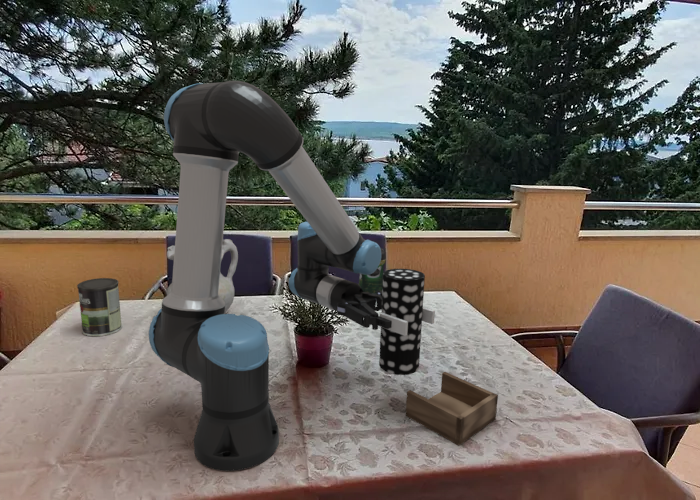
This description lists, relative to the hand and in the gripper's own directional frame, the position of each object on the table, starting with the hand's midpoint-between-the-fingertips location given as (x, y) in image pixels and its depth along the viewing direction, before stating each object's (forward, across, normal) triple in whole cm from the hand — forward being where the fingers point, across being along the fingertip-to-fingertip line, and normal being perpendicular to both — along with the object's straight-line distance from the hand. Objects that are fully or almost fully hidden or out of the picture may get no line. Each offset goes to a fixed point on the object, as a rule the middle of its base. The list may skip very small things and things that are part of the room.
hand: (420, 322), depth 94 cm
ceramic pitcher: (-76, +6, -20) cm, 78 cm away
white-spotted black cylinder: (-5, 0, -11) cm, 12 cm away
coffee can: (-88, +32, -20) cm, 96 cm away
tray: (+6, -4, -20) cm, 21 cm away
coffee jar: (-56, -47, -20) cm, 76 cm away
